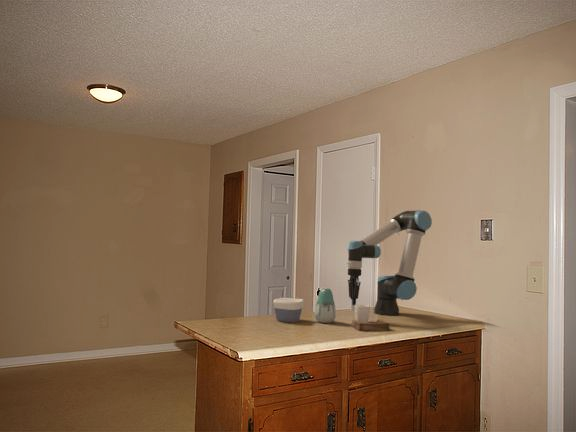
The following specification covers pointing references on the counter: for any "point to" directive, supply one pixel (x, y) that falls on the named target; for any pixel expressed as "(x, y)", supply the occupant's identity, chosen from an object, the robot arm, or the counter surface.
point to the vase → (325, 307)
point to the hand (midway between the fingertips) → (352, 310)
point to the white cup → (362, 313)
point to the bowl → (288, 309)
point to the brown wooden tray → (370, 325)
